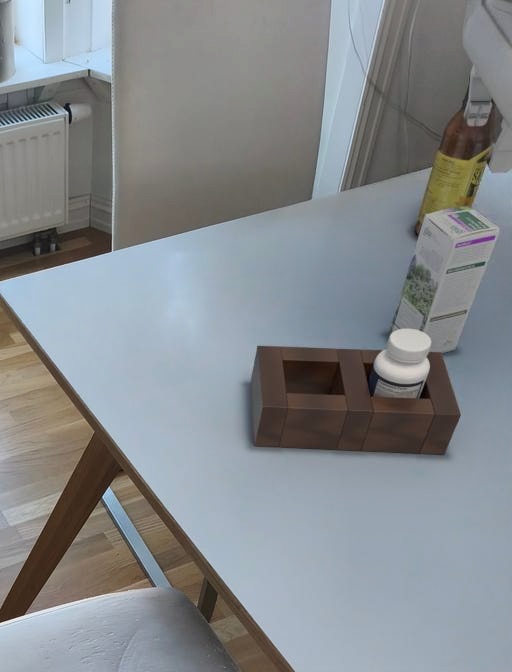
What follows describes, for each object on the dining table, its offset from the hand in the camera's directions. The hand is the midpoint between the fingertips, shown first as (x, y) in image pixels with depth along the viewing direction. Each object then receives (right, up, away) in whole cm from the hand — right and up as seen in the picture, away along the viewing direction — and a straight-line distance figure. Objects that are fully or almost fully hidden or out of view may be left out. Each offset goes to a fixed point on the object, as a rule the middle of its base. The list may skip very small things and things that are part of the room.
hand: (485, 145), depth 77 cm
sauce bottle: (+15, +12, +42) cm, 46 cm away
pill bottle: (-2, -20, +17) cm, 27 cm away
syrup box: (+6, -9, +26) cm, 28 cm away
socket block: (-6, -20, +18) cm, 27 cm away
